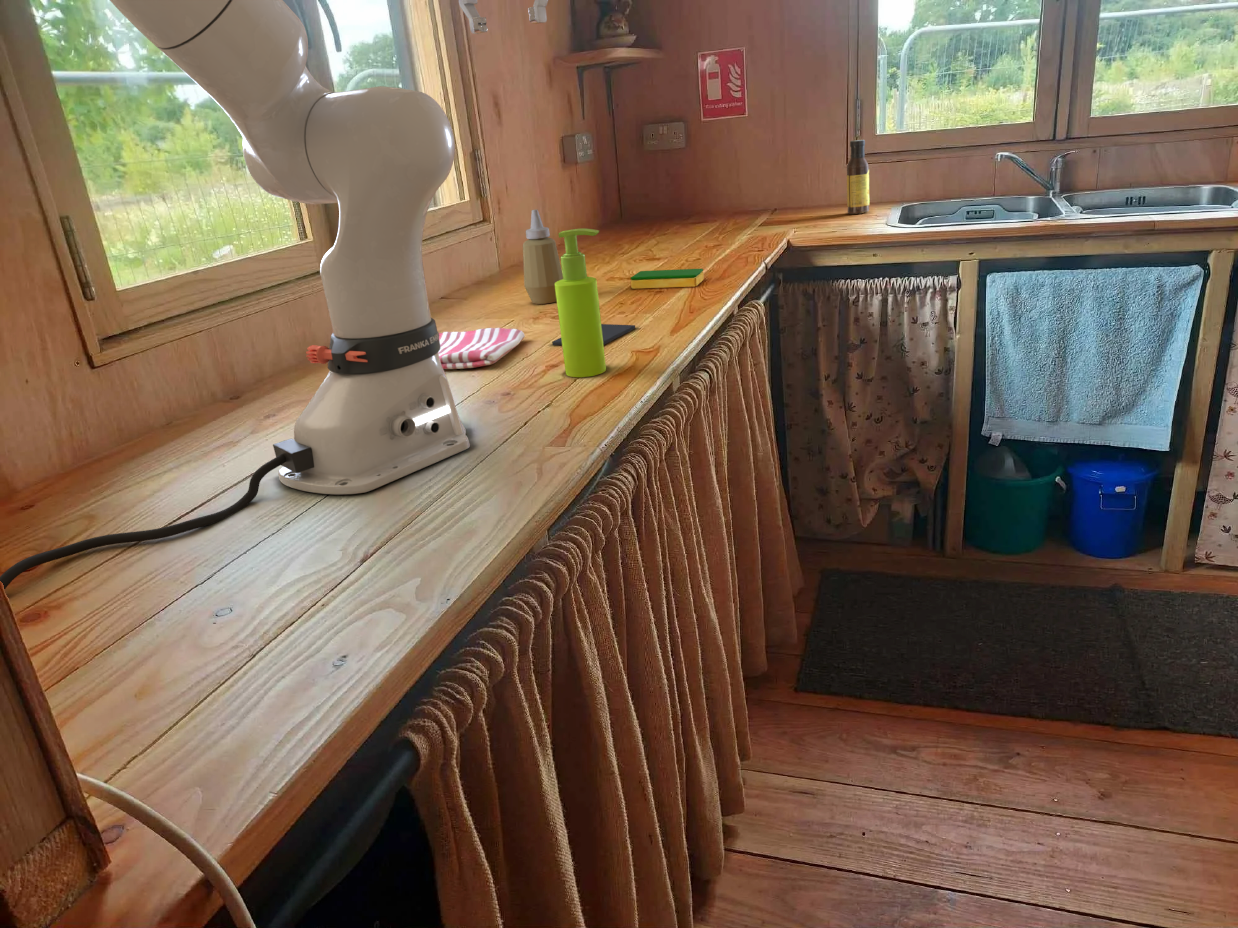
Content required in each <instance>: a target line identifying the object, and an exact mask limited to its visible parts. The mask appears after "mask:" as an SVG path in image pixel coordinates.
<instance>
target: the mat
mask: <svg viewBox="0 0 1238 928" xmlns="http://www.w3.org/2000/svg"><path fill="white" fill-rule="evenodd" d="M601 327H602V336H603V345H604V346H605V345H607V344H608V343H611V342H612V341H615V339H616V340H617V339H618V338H620V337H622V336H624V335H626V334H628V333H630V332H631V331H633V330H635V329H636V325H635V324H614V323H613V324H612V323H611V324H609V323H601ZM551 343H552V346H562V340H561V337H560V338H556V339H555V340H553V341H551Z"/></svg>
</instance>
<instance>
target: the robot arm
mask: <svg viewBox="0 0 1238 928" xmlns="http://www.w3.org/2000/svg"><path fill="white" fill-rule="evenodd" d="M109 1H110V2H111V3H112V5H114V7H115V8H116V9H117V10H118V11H119V12H120V13H121V14H122V15H123V17H125V18H126V19H127V20H128V21H129V23H131V24H132V25H133V27H135V28H136V30H138V31H139V32H140V33H141V34H142V35H143V36H144V37H145V38H146V39H147V40H149V42H151V44H153V45H154V46H155V47H156V48H157V49H158V50H159V51H160V52H162V53H163V54H164V55H165V56H166V57H167V58H168V59H170V60H171V62H173V63H174V64H175V65H176V66H177V67H178V68H179V69H180V70H181V71H183V73H185V74H186V75H187V76H188V77H189V78H190V79H191V80H192V81H193V82H194V83H195V84H196V85H197V86H198V87H199V88H201V90H203V91H204V92H205V93H206V94H207V95H208V96H209V97H211V98H212V100H214V101H215V103H216V104H218V106H219V107H220V108H221V109H222V110H223V111H224V113H225V114H226V115H227V116H228V117H229V119H230V120H231V122H232V123H233V124H234V126H236V129H237V130H238V132H239V133H240V135H241V137H242V153H243V154H242V155H243V159H244V162H245V166H246V168H247V170H248V172H249V174H250V176H251V178H252V179H253V180H254V182H255V183H256V184H257V185H258V186H259V187H260V188H261V189H262V190H263V191H264V192H266V193H267V194H269V195H271V196H274V197H277V198H280V199H284V200H288V201H292V202H296V203H301V204H304V205H305V204H306V205H324V204H325V205H326V204H338V211H339V212H338V213H339V215H338V216H339V217H338V229H337V235H336V239H335V241H334V243H333V246H331V248H329V249H328V250H327V251H326V252H325V253H324V255H323V257H322V259H321V262H320V266H319V275H320V280H321V284H322V287H323V292H324V296H325V298H324V299H325V302H326V307H327V310H328V315H329V320H330V324H331V329H332V333H331V335H330V339H329V347H328V346H326V345H316V344H312V345H309V346H308V347H307V349H306V350H308V351H306V352H305V354H306V356H305V357H306V358H307V361H309V362H310V363H311V364H322V365H325V364H327V369H328V373H327V375H326V376H325V378H324V379H323V381H322V383H321V384H320V385H319V387H318V388H317V390H316V391H315V393H314V394H313V396H312V398H311V399H310V400H309V402H308V403H307V405H306V406H305V408H304V409H303V410H302V412H301V413H300V414H299V416H298V417H297V418H296V420H295V423H294V425H293V426H294V427H293V438H288V439H285V440H282V441H279V442H277V443H273V444H272V447H273V451H274V454H275V457H273V458H272V459H271V460H268V461H267V462H265V463H264V464H262V465H261V466H259V468H257V469H256V471H254V473H252V476H251V477H250V479H249V483H248V490H247V491H246V493H244V495H243V496H242V497H241V498H240V499H238V500H237V501H236V502H235V503H234V504H231V505H230V506H228V507H226V508H225V509H222V510H220V511H217V512H214V513H210V514H207V515H203V516H200V517H196V518H191V519H189V520H184V521H182V522H178V523H174V524H171V525H168V526H167V525H166V526H164V527H159V528H153V529H146V530H138V531H137V530H136V531H128V532H120V533H111V534H104V535H99V536H95V537H91V538H86V539H84V540H80V541H77V542H73V543H71V544H67V545H65V546H61V547H57V548H54V549H50V550H47V551H42V552H39V553H36V554H34V555H31V556H28V557H26V558H23V559H22V560H19V561H18V562H16V563H15V564H13V565H12V566H10V567H9V568H8V569H7V570H6V571H4V572H3V573H2V574H1V575H0V581H1V582H2V583H3V585H4V589H5V590H6V588H7V587H8V586H9V585H10V584H12V582H13V581H14V580H15V579H16V578H17V577H18V576H20V575H21V574H23V573H24V572H26V571H28V570H30V569H32V568H35V567H37V566H40V565H43V564H46V563H50V562H53V561H57V560H60V559H63V558H67V557H70V556H73V555H76V554H80V553H82V552H85V551H89V550H93V549H96V548H100V547H101V548H102V547H105V546H110V545H111V546H112V545H119V544H126V543H127V544H128V543H137V542H138V543H139V542H145V541H146V542H147V541H153V540H159V539H164V538H169V537H173V536H176V535H180V534H183V533H187V532H190V531H193V530H196V529H200V528H203V527H207V526H211V525H213V524H216V523H218V522H220V521H223V520H224V519H226V518H228V517H230V516H232V515H234V514H235V513H237V512H239V511H241V510H243V509H244V508H246V507H247V506H248V505H249V504H251V502H253V500H254V499H255V498H256V497H257V495H258V493H259V490H260V489H259V488H260V484H261V481H262V480H263V478H264V477H265V476H266V475H267V474H269V473H270V472H272V471H273V470H275V469H277V468H278V467H280V466H281V468H279V470H278V480H279V481H280V482H281V484H282V485H284V486H287V487H289V488H292V489H295V490H298V491H303V492H308V493H314V494H323V495H356V494H363V493H367V492H370V491H373V490H375V489H378V488H380V487H383V486H385V485H387V484H390V483H392V482H394V481H397V480H399V479H401V478H403V477H406V476H408V475H410V474H412V473H414V472H417V471H420V470H422V469H424V468H427V467H428V466H431V465H434V464H435V463H438V462H440V461H442V460H445V459H447V458H450V457H451V456H454V455H457V454H459V453H461V452H463V451H466V450H468V449H469V448H470V447H471V444H470V440H469V437H468V436H467V435H466V434H467V430H466V428H465V426H464V424H463V422H462V420H461V417H460V415H459V412H458V410H457V407H456V404H455V403H456V402H455V399H454V397H453V393H452V389H451V387H450V383H449V380H448V377H447V375H446V372H445V369H443V368H442V365H441V361H440V358H439V354H438V352H439V350H440V349H441V346H440V341H439V333H440V332H439V331H438V327H437V322H436V319H434V318H433V317H432V315H431V310H430V305H429V298H428V291H427V285H426V278H425V271H424V262H423V237H424V231H425V230H424V228H425V223H426V218H427V214H428V212H429V208H430V206H431V202H432V201H433V198H434V196H435V195H436V193H437V191H438V190H439V189H440V187H441V186H442V185H443V184H444V183H445V181H446V180H447V178H449V175H450V174H451V170H452V168H453V164H454V160H455V153H456V151H455V150H456V145H455V143H456V142H455V136H454V132H453V128H452V125H451V122H450V120H449V118H448V116H447V114H446V112H445V111H444V109H443V108H442V107H441V105H440V104H439V103H438V101H437V100H435V98H434V97H432V96H431V95H429V94H427V93H425V92H423V91H419V90H413V89H409V88H408V89H407V88H401V87H394V86H384V85H379V86H372V87H365V88H358V89H353V90H343V91H332V90H330V89H328V88H326V87H324V86H323V85H321V84H320V82H318V81H317V80H316V79H315V78H314V76H313V75H312V73H311V72H310V71H309V69H308V67H307V61H308V53H309V38H308V35H307V30H306V28H305V25H304V24H303V22H302V21H301V19H300V18H299V16H298V15H297V14H296V13H295V12H294V11H293V10H292V9H291V8H290V7H289V5H287V3H286V2H285V1H284V0H109ZM548 2H549V0H534V2H533V5H532V6H530V7H527V10H528V15H529V16H528V17H529V23H530V24H533V25H534V24H535V25H537V24H544V23H547V21H548V17H547V9H546V7H547V6H548ZM477 4H478V0H458V5H459V7H460V8H461V10H462V12H463V13H464V14H465V16H466V18H467V19H468V22H469V29H470V32H471V34H472V35H474V34H477V35H479V34H484V33H487V32H488V26H487V17H486V16H485V17H484V16H483V17H482V16H481V15H480V13H479V11H478V9H477V7H476V6H475V5H477Z"/></svg>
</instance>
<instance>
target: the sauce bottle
mask: <svg viewBox="0 0 1238 928" xmlns="http://www.w3.org/2000/svg"><path fill="white" fill-rule="evenodd" d="M865 146H866V140H865V139H858V140H850V143H849V147H850V159H849V161H848V163H847V166H846V206H847V214H848V215H858V214H859V215H860V214H865V213H868V212H869V211H870V203H871V202H870V199H871V198H870V164H869V163H868V160H867V159H866V158H865V156H866V154H865V151H866V150H865Z"/></svg>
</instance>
